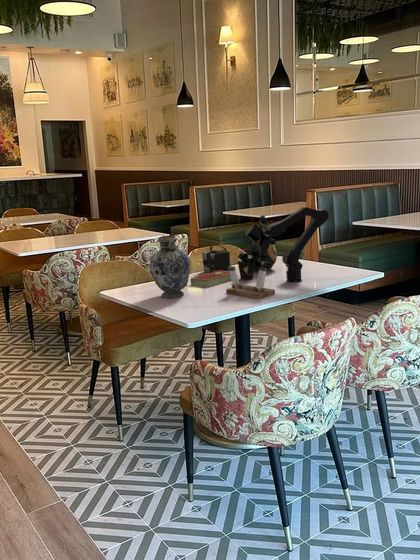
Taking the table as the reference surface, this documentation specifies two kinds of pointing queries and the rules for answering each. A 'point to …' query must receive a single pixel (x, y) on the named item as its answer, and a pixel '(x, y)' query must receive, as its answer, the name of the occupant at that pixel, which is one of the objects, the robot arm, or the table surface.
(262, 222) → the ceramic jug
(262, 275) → the lever
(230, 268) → the lever
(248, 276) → the coffee mug
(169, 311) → the table surface
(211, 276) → the hardcover book
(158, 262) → the decorative vase
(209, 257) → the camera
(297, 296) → the table surface
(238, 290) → the switch box
